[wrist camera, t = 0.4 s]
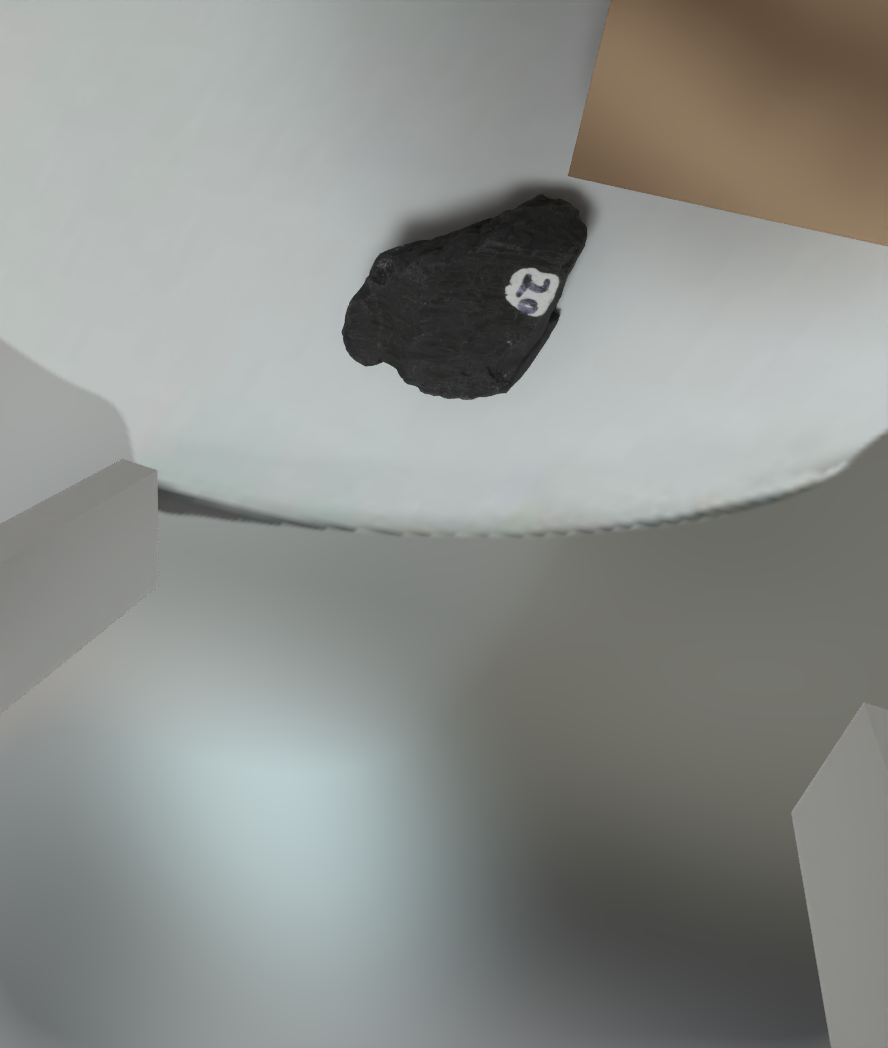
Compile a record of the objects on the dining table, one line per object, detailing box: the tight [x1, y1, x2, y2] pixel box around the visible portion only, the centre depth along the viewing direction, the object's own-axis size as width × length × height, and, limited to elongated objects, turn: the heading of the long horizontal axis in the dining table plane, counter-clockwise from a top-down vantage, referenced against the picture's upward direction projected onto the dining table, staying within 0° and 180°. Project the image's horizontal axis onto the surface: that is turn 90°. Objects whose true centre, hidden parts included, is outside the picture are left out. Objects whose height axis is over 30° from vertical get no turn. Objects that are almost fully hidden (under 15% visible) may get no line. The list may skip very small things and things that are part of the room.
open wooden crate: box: [568, 0, 888, 246], centre depth 24 cm, size 10×14×11 cm
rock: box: [342, 194, 587, 400], centre depth 34 cm, size 10×9×6 cm
